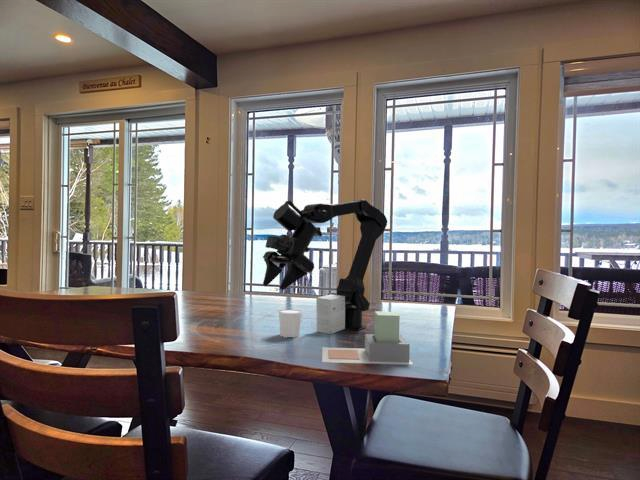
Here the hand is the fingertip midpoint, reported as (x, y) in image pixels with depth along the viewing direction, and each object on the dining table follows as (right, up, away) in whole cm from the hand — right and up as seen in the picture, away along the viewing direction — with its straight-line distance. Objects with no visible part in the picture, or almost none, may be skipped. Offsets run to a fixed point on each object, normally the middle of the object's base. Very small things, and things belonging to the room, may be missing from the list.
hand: (272, 287), depth 108 cm
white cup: (+4, -15, +7) cm, 17 cm away
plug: (+29, -14, -15) cm, 35 cm away
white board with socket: (+24, -15, -15) cm, 32 cm away
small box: (+16, -15, +14) cm, 26 cm away
